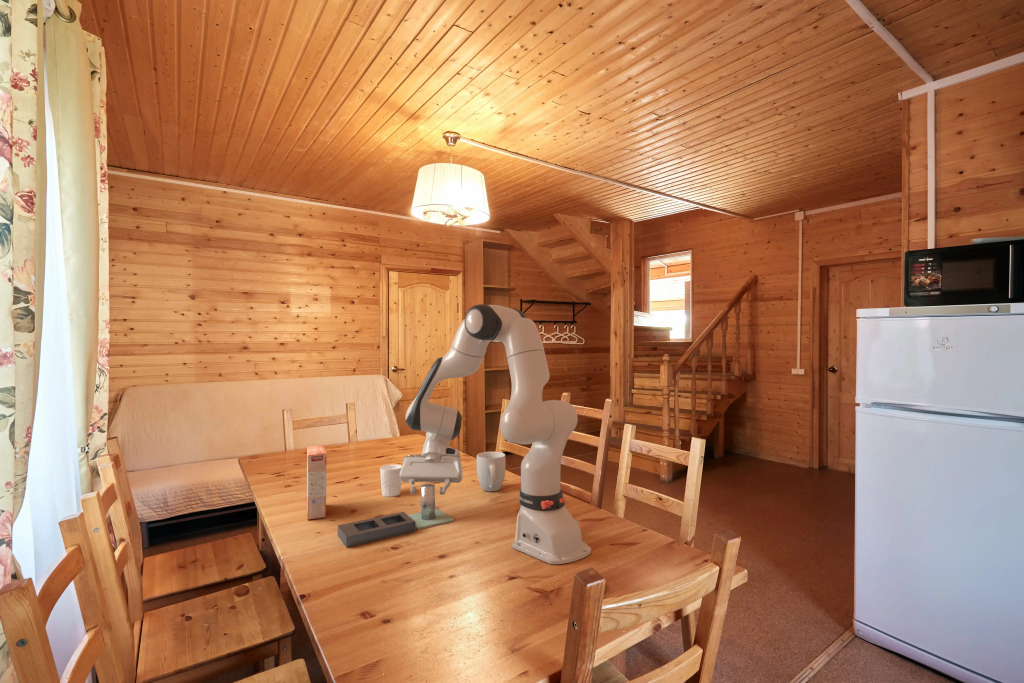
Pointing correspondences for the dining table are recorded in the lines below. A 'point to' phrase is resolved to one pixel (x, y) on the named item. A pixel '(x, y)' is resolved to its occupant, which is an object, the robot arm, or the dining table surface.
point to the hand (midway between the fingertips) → (427, 493)
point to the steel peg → (427, 501)
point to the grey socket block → (375, 529)
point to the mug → (491, 470)
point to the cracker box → (316, 482)
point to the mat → (438, 520)
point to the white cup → (390, 480)
